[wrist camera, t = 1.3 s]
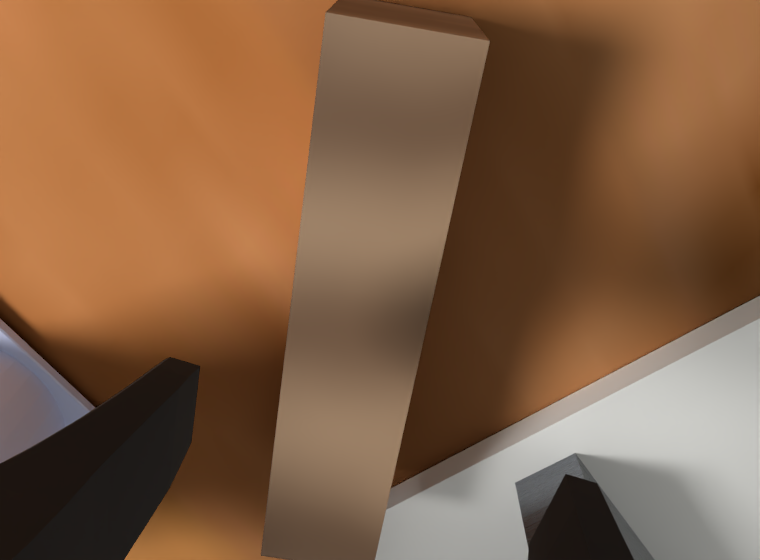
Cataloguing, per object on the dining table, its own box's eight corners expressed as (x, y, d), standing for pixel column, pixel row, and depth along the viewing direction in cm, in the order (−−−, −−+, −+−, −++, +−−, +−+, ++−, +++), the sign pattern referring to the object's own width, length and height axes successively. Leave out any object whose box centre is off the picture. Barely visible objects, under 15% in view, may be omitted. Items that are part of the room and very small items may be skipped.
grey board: (474, 709, 32) (476, 731, 31) (299, 536, 28) (295, 556, 27) (922, 530, 27) (941, 551, 26) (793, 278, 22) (809, 292, 21)
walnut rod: (378, 462, 26) (372, 571, 22) (285, 449, 26) (260, 555, 22) (470, 15, 19) (489, 41, 15) (344, -7, 19) (325, 11, 15)
